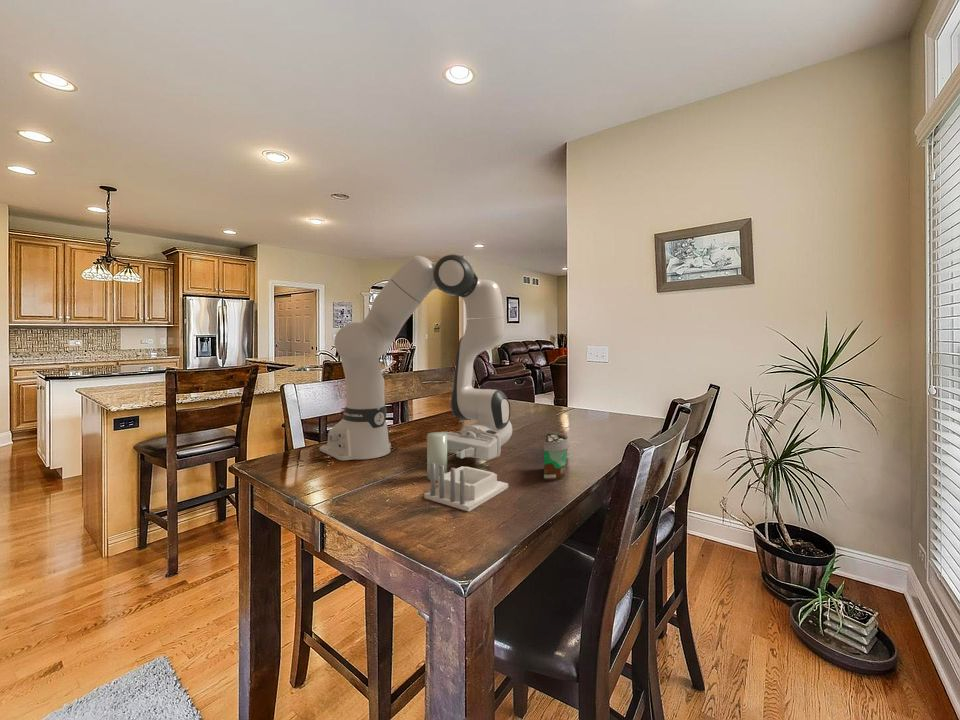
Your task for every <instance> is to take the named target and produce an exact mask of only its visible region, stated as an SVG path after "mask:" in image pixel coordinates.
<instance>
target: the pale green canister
mask: <svg viewBox="0 0 960 720" xmlns="http://www.w3.org/2000/svg"><path fill="white" fill-rule="evenodd" d="M443 432H444V431H435V432H434V431H433V432H428V433H427V434H426V460H427V461H426V479H427V480H428V481H430V482H431V463H435V482H438V477H439V466H440V465H444V474H446V473H448V452H447V434H446V433H443Z"/></svg>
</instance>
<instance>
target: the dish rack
mask: <svg viewBox="0 0 960 720" xmlns="http://www.w3.org/2000/svg"><path fill="white" fill-rule="evenodd" d="M437 483H438V484H437V485H438V487H436V481H435V463H431V481H430V490H429V491H428V492H424V495H423V497H424V499H426V500H429V501H433V502H435V503H440V504H443V505H446V506H449V507H453V508H456V509H459V510H462V511H465V512H470V511H472V510H474V509H476V508H477V507H479V506H480V505H482V504H484V503H486V502H487V501H488V500H490V499H492V498H493V497H495V496H497V495H499V494H501V493H502V492H503V491H505V490H507V489H509V483H507V482H504V481H499V480H498V474H497V473H495V472H492V471H487V470H483V469H479V468H476V467H475V468H474V467H470V466H463V465H462V466H460V467H457V468H456V467H450V470H449V472H448V471H447V473H446V474H444V465H440V466H439V477H438V481H437Z"/></svg>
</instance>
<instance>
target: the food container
mask: <svg viewBox="0 0 960 720" xmlns="http://www.w3.org/2000/svg"><path fill="white" fill-rule="evenodd" d="M545 434H546V438H545V441H544V443H543V444H544V445H543V446H544V447H543V452H544V453H543V459H544V460H543V461H544V462H543V481H544V482H556V481H560V480H562V478H563V477H564V478H565V473H566V465H567V464H566V462H567V451H568V449H569V448H570V446H571V444H570V440H569V438H568V436H567V435H566V434H563V433H561V432H557V431H548V430H547V431H546V433H545ZM564 478H563V479H564ZM555 480H556V481H555Z"/></svg>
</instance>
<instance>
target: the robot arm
mask: <svg viewBox="0 0 960 720" xmlns="http://www.w3.org/2000/svg"><path fill="white" fill-rule="evenodd" d="M434 290H440V291H441V292H443V293H445V294H446V295H449V296H453V297H455V296H456V297H460V298H461V299H462V300H463V301H464V306H465V314H466V315H465V316H466V317H465V318H466V326H465V329H464V330H465V331H464V334H463V336H462V337H461V338H460V339H459V341H458V343H457V347H456V354H455V356H456V357H455V366H454V367H455V368H454V380H453V389H452V393H451V398H450V403H449V404H450V406H449V407H450V408H451V412H452V413H453V414H454V417H455V418H456V419H458V421H459V420H460V421H477V422H476V423H473V424H471V425H470V424H469V425H467V426H464V427H463V428H462V429H461V430H460V432H459V433H457V432H451V431H442V432H443V433H446V434H447V453H450V454H456V459H457V458H458V459H465V458H473V459H478V460H482V461H489V460H493V459H495V458H499V457H500V456H501V451H502V446H503V445H505V444H506V443H507V442H508V441H509V440H510V438H511V437H512V434H513V425H512V423H511V421H510V417H511V403H510V401H509V398H508V397H507V395H506V394H505V393H504V392H503V391H502V390H500V389H491V388H485V389H484V388H474V387H473V384H472V382H473V369H474V362H475V359H476V358H477V356H479V354H481V353H483V352H485V351H487V350H490V349H491V348H493V347H495V346H496V345H498V343H500V341H501V340H502V338H503V337H504V334H505V328H506V327H505V326H506V325H505V310H504V304H503V303H504V301H503V297H502V292H501V288H500V286H499V284H498V283H497V282H496V281H494V280H491V279H487V278H485V279H484V278H479V277H478V275H477V273H475V271H474V268H473V266H472V265H471V263H470V262H469V261H468V260H467V259H465V258H464V257H463V256H461V255H458V254H447V255H444V256H443V257H441V258H439V260H437V262H436V263H435V262H433V261H432V260H430V259H429V258H428V257H425V256H422V255H415V256H412V257H410V258H409V259H408V260H407V261H406V262H404V264H402V265H401V266H400V267H399V268H398V269H397V271H395V272H394V274H393V275H392V276H391V277H390V278H389V280H388V281H387V283H386V284H384V286H383V287H382V289H380V291H379V292H378V293H377V295H376V296H375V298H374V299H373V301H372V305H371V307H370V310H369V312H368V313H367V316H366V317H365V318H364V320H363V321H361V322H357V321H356V322H351V323H349V324H347V325H344V326H342V327H341V328H340V329H339V330H338V331H337V332H336V334H335V336H334V340H333V341H334V348H335V350H336V352H337V353H338V355H339V357H340V361H341V365H342V368H343V373H344V378H345V397H346V405H345V407H344V408H343V407H342V408H341V411H340V413H343V414H342V419H341V420H339V422H338V423H336V424H335V425H334V426H333V427H332V428H330V429H329V431H328V433H327V443H326V444H322V445H321V446H320V447H319V452H322V453H324V454H326V455H328V456H330V457H333V458H335V459H336V460H338V461H350V460H370V459H377V458H380V457H384V456H387V455H389V454H390V453H391V450H392V449H391V447H392V444H391V442H390V441H389V432H388V431H389V430H388V423H387V421H386V418H387V413H388V411H387V405H386V403H385V402H386V401H385V400H386V399H385V396H386V395H385V392H386V391H385V389H386V388H385V378H384V376H383V374H382V369H381V363H380V357H383V355H385V354H386V353H387V352H388V351H389V349H390V347H391V345H392V344H393V343H394V341H395V340H396V338H397V336H398V335H399V333H400V331H401V329H402V328H403V326H404V325H405V323H406V322H407V321H408V320H409V319H410V317H411V316H412V315H413V313H414V312H415V311H416V309H417V308H418V307H419V306H420V305H421V303H422V302H423V301H424V299H425V298H426V297H427V296H428V295H429V294H430V293H431V292H432V291H434Z"/></svg>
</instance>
